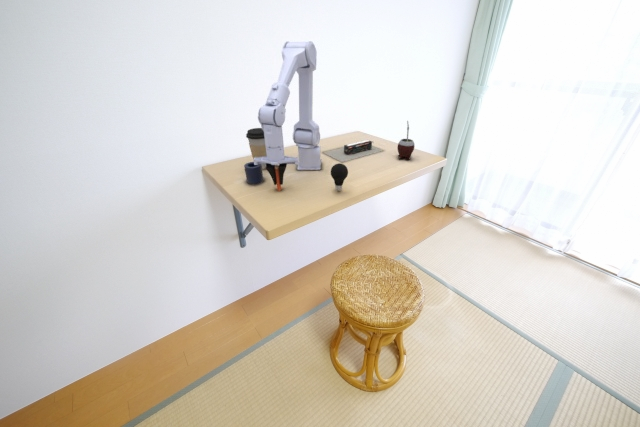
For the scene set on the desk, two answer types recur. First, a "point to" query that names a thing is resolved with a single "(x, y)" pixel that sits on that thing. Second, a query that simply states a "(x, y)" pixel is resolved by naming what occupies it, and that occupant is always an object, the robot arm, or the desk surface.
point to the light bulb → (339, 175)
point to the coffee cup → (257, 143)
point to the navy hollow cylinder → (253, 173)
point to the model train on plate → (353, 151)
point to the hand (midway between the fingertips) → (278, 183)
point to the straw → (277, 177)
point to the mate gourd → (405, 147)
